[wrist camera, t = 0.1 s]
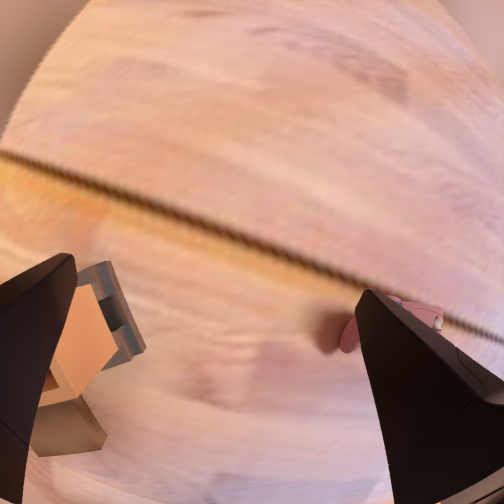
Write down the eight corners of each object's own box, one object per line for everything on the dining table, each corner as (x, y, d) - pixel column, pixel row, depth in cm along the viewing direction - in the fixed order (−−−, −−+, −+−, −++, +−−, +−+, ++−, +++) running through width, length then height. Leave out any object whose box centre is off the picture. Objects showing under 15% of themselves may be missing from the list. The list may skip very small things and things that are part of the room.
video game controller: (408, 320, 28) (454, 298, 22) (409, 360, 26) (459, 345, 20) (335, 307, 26) (380, 279, 20) (333, 354, 24) (382, 337, 18)
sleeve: (118, 349, 18) (77, 397, 10) (67, 366, 17) (15, 411, 9) (90, 283, 18) (31, 298, 10) (40, 305, 17) (-24, 326, 9)
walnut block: (107, 435, 21) (100, 449, 18) (47, 445, 19) (38, 457, 17) (55, 345, 20) (43, 352, 18) (0, 365, 19) (-13, 372, 16)
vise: (146, 347, 22) (125, 383, 14) (81, 369, 21) (44, 405, 13) (110, 260, 21) (72, 262, 14) (47, 289, 20) (-3, 299, 13)
